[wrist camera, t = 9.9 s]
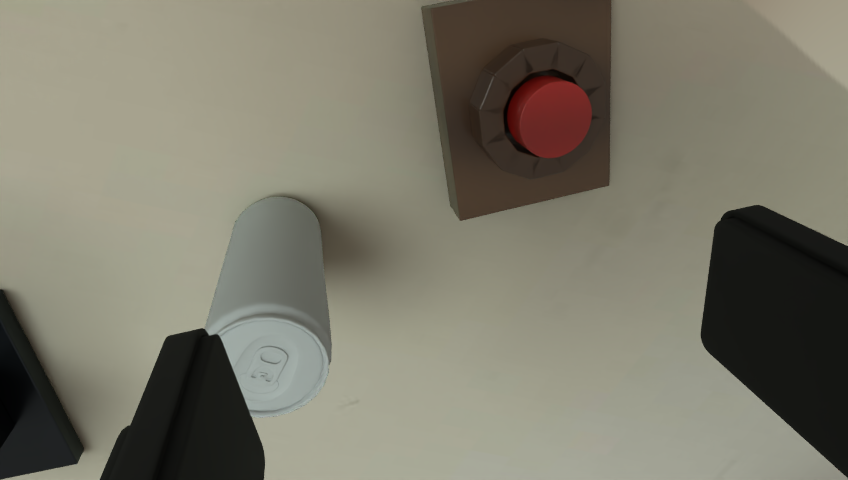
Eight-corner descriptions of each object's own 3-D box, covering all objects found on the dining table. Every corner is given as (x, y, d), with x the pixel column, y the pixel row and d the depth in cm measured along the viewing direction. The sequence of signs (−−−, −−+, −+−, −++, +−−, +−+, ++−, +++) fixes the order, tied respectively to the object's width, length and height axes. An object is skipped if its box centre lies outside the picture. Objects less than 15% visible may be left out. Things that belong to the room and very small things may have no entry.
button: (503, 83, 25) (516, 89, 23) (574, 68, 25) (592, 74, 24) (509, 155, 26) (522, 165, 25) (576, 140, 27) (592, 149, 25)
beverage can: (220, 253, 29) (175, 404, 19) (252, 178, 28) (221, 296, 17) (302, 280, 31) (302, 432, 21) (335, 211, 30) (354, 336, 19)
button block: (420, 6, 26) (439, 10, 22) (589, -26, 27) (632, -27, 23) (450, 206, 31) (469, 234, 28) (591, 173, 32) (627, 196, 29)
